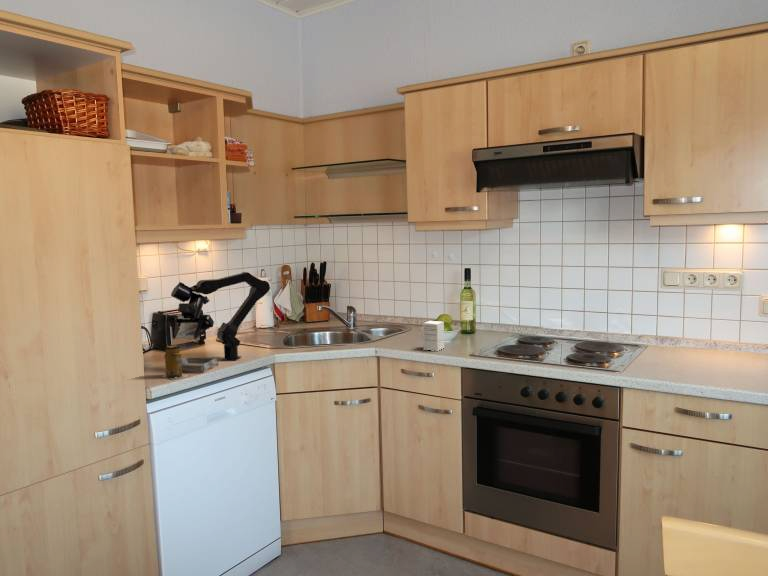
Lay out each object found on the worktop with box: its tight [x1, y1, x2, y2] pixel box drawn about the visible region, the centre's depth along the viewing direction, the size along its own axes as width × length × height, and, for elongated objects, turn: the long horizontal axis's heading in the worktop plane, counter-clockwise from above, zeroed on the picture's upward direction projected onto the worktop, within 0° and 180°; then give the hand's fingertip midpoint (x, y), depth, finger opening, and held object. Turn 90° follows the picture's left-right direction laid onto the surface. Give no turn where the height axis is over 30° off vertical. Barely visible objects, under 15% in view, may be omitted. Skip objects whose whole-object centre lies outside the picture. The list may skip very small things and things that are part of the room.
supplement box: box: [422, 320, 445, 352], centre depth 281 cm, size 7×7×13 cm
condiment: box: [161, 344, 189, 380], centre depth 243 cm, size 7×8×12 cm
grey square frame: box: [181, 357, 219, 374], centre depth 255 cm, size 14×14×3 cm
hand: (184, 338), depth 250 cm, fingers open, 9 cm apart
